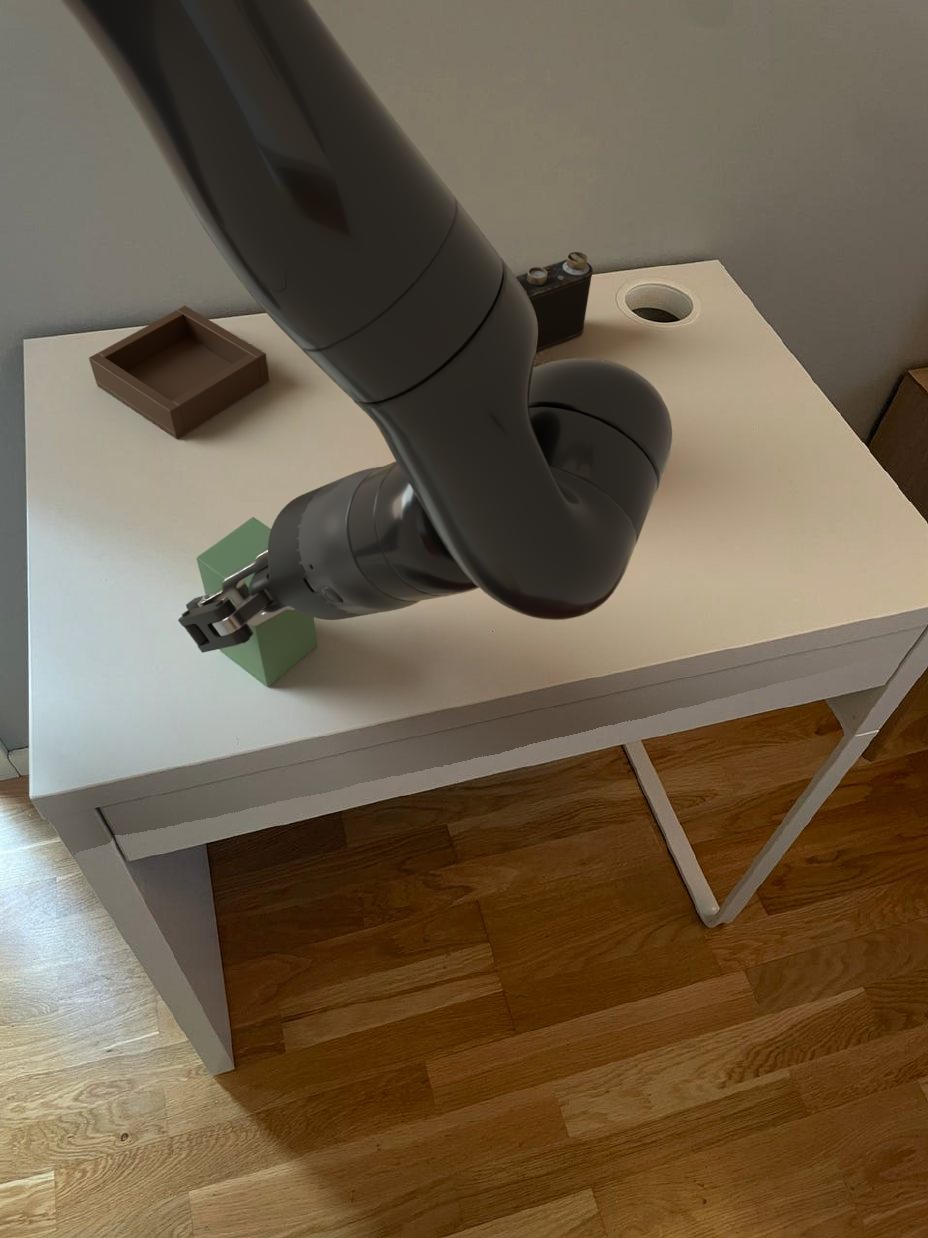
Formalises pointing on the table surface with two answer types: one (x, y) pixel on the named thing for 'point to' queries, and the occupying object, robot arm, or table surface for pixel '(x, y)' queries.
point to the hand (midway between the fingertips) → (246, 578)
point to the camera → (559, 298)
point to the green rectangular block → (273, 639)
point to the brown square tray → (180, 371)
